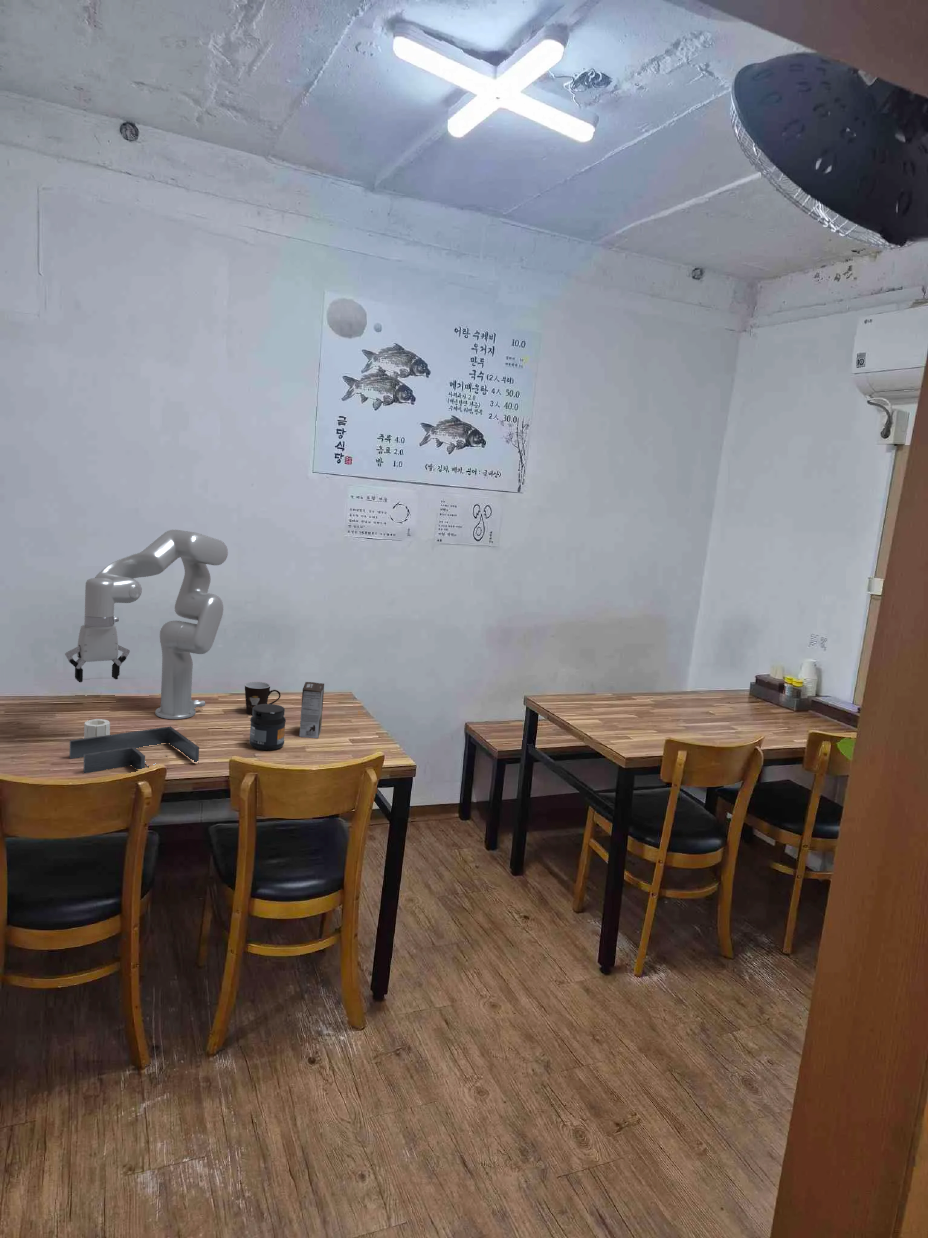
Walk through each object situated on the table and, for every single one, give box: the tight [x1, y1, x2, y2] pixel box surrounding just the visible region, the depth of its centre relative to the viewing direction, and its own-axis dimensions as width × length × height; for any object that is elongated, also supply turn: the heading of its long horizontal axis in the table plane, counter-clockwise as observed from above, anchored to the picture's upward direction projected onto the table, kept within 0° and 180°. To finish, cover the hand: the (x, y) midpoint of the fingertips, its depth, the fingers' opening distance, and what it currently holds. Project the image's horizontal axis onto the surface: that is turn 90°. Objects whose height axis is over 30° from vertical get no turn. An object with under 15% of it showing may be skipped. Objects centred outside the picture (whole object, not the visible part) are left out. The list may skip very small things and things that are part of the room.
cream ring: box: [83, 718, 111, 739], centre depth 225 cm, size 6×6×6 cm
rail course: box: [69, 726, 200, 774], centre depth 214 cm, size 28×20×5 cm
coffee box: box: [299, 681, 325, 739], centre depth 251 cm, size 9×6×16 cm
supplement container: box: [248, 703, 287, 751], centre depth 236 cm, size 10×10×12 cm
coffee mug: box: [244, 681, 281, 716], centre depth 265 cm, size 12×9×10 cm
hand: (97, 679), depth 222 cm, fingers open, 9 cm apart
